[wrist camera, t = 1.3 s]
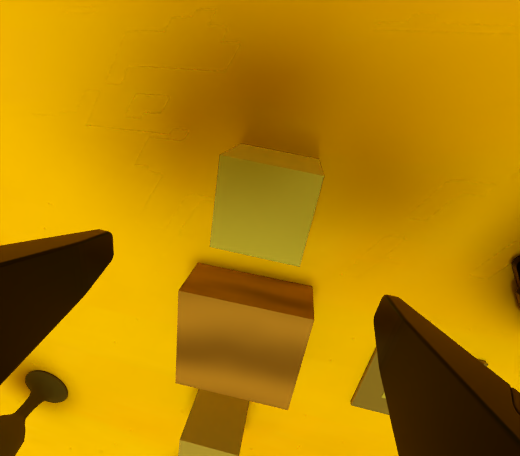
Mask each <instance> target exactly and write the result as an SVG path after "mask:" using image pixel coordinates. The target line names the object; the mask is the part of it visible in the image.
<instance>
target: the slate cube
mask: <svg viewBox="0 0 520 456" xmlns="http://www.w3.org/2000/svg"><path fill="white" fill-rule="evenodd" d="M248 405H249V401H248V400H244V399H240V398H236V397H232V396H228V395H223V394H219V393H215V392H211V391H207V390H203V389H199V390H198V393H197V395H196V398H195V401H194V403H193V406H192V409H191V411H190V414H189V417H188V419H187V422H186V425H185V427H184V430H183V433H182V435H181V438H180V444H179V455H178V456H239V453H240V448H241V442H242V437H243V432H244V426H245V421H246V416H247V410H248Z"/></svg>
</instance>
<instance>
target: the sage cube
mask: <svg viewBox="0 0 520 456" xmlns="http://www.w3.org/2000/svg"><path fill="white" fill-rule="evenodd" d="M323 179H324V173H323V170H322V167H321V164H320V161H319V159H317V158H312V157H307V156H302V155H297V154H292V153H287V152H282V151H277V150H272V149H267V148H261V147H256V146H251V145H246V144H239V145H237V146H235V147H233V148H232V149H230V150H228V151H226V152H224V153H222V154H220V157H219V166H218V176H217V185H216V194H215V203H214V212H213V221H212V231H211V240H210V247H213V248H218V249H222V250H227V251H231V252H236V253H240V254H244V255H249V256H253V257H258V258H262V259H267V260H271V261H276V262H280V263H285V264H289V265H294V266H298V267H300V264H301V260H302V257H303V253H304V249H305V246H306V242H307V238H308V234H309V231H310V227H311V223H312V220H313V216H314V212H315V209H316V205H317V201H318V198H319V194H320V190H321V187H322V183H323Z"/></svg>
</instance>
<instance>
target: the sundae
mask: <svg viewBox="0 0 520 456" xmlns="http://www.w3.org/2000/svg"><path fill="white" fill-rule="evenodd" d="M25 382H26V385H27V387H28V388H29V389H30V390H31V393H30V396H29V397H28V399H27V400H26V401H25V402H24V404H23V405H22V406H21V407H20V408H19V409H18V410H17V411H16V412H15V413H13V414H10V415H2V416H0V456H15V455H16V453H17V452H18V450H19V448H20V447H21V445H22V444H23V442H24V438H25V419H26V417H27V416H28V415H29V414H30V413H31V412H32V411H33V410H34V409H35V408H36V407H37V406H38V405H39V404H40V403H42V402H43V401H47V402H52V403H58V402H62V401H64V400H65V399H66V398H67V389H66V387H65V385H64V384H63V383H62V382H61V381H60V380H59V379H58V378H56V377H55V376H53V375H52V374H49V373H47V372H44V371H32V372H29V373H28V374H27V376H26V379H25Z"/></svg>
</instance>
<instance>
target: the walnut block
mask: <svg viewBox="0 0 520 456" xmlns="http://www.w3.org/2000/svg"><path fill="white" fill-rule="evenodd" d="M313 322H314V307H313V288H312V286H308V285H303V284H298V283H293V282H288V281H284V280H279V279H274V278H269V277H264V276H259V275H254V274H250V273H245V272H240V271H235V270H230V269H225V268H220V267H215V266H211V265H206V264H201V263H197V265H196V266H195V268H194V269H193V271H192V272H191V274H190V275H189V276H188V278H187V279H186V281H185V282H184V284H183V285H182V286H181V288H180V289H179V293H178V325H177V357H176V383H178V384H182V385H186V386H190V387H194V388H199V389H203V390H207V391H211V392H215V393H219V394H223V395H228V396H232V397H236V398H240V399H244V400H248V401H252V402H257V403H261V404H265V405H269V406H273V407H277V408H281V409H286V410H288V408H289V405H290V401H291V398H292V394H293V391H294V387H295V384H296V381H297V377H298V374H299V370H300V367H301V363H302V360H303V356H304V353H305V350H306V346H307V343H308V339H309V336H310V332H311V329H312V326H313Z"/></svg>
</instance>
